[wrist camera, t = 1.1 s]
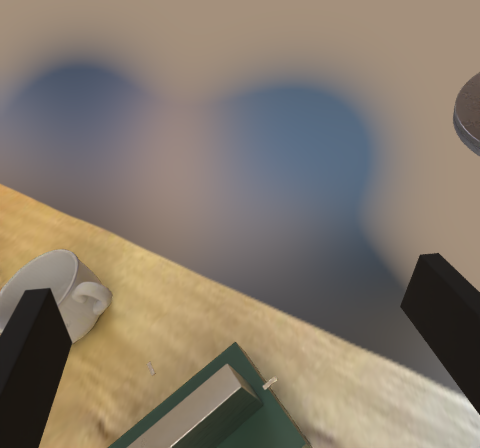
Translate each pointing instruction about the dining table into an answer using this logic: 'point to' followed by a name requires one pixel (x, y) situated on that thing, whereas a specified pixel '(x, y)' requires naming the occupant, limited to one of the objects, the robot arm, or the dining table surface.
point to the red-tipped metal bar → (205, 414)
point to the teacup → (59, 290)
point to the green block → (253, 429)
